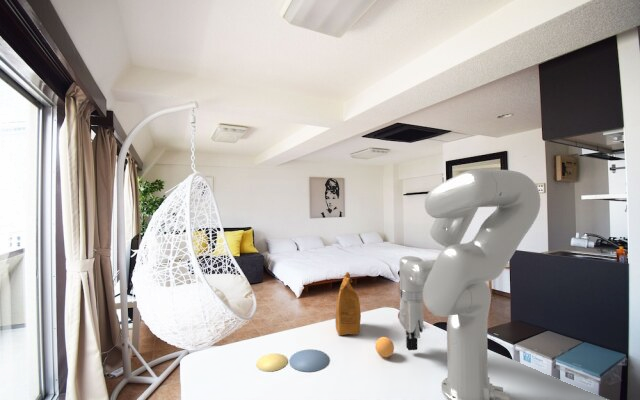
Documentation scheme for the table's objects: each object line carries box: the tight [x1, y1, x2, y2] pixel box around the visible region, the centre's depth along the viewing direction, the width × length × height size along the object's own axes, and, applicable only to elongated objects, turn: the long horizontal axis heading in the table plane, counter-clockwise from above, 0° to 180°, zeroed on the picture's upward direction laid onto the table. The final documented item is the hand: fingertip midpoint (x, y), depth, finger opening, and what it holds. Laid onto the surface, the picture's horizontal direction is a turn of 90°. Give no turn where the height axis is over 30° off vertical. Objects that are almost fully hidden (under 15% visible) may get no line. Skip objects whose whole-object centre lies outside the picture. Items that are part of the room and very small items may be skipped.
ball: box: [375, 336, 395, 358], centre depth 96 cm, size 6×6×6 cm
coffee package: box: [335, 271, 361, 336], centre depth 116 cm, size 10×12×22 cm
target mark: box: [288, 348, 330, 373], centre depth 94 cm, size 13×13×1 cm
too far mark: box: [256, 353, 289, 372], centre depth 93 cm, size 10×10×1 cm
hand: (411, 348), depth 97 cm, fingers closed
